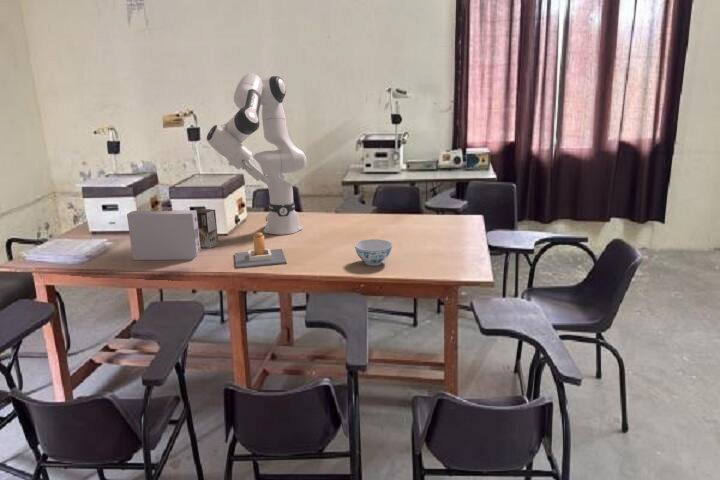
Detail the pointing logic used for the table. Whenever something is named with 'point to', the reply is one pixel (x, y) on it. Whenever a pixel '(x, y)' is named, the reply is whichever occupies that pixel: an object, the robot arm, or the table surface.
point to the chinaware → (373, 250)
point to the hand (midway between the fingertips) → (268, 180)
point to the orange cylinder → (259, 244)
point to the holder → (259, 258)
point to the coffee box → (207, 227)
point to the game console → (164, 234)
